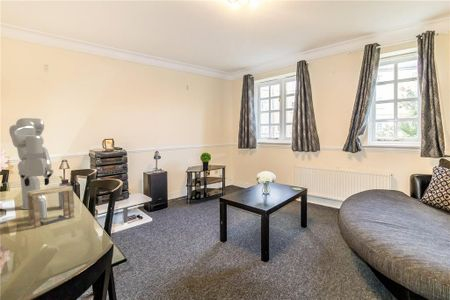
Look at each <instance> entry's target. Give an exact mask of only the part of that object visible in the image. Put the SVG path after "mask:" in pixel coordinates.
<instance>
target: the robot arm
mask: <svg viewBox="0 0 450 300" xmlns="http://www.w3.org/2000/svg"><path fill="white" fill-rule="evenodd" d="M8 130H9V131H8V132H9V136H10V139H11V143H12V144H13V146H14V148H16V150H17V154H18V158H19V160H20V161H19V162H18V163H17V169H18V173H17V174H18V175H19V177H20V185H21V186H20V187H21V198H22V199H21V201H22V205H20V207H19V208H20V210H28V200H27V192H29V191H35V190H41V182H40V179H39V177H43V178H44V180H43V181H44V185H45V186H47V185H49V184H50V178H51V176H52V175H53V174H54V169H52V162H51V159H50V154H49V152H48V149H47V147H45V146H43V145H44V141H45V140H44V137H42V133H43V131H44V130H45V122H44V121H43V120H42V119H40V118H35V117H34V118H31V117H29V118H27V117H26V118H23V117H22V118H19V119H17V120H16V122H15V124H12V125H11V126H10V127H9V129H8Z"/></svg>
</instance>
